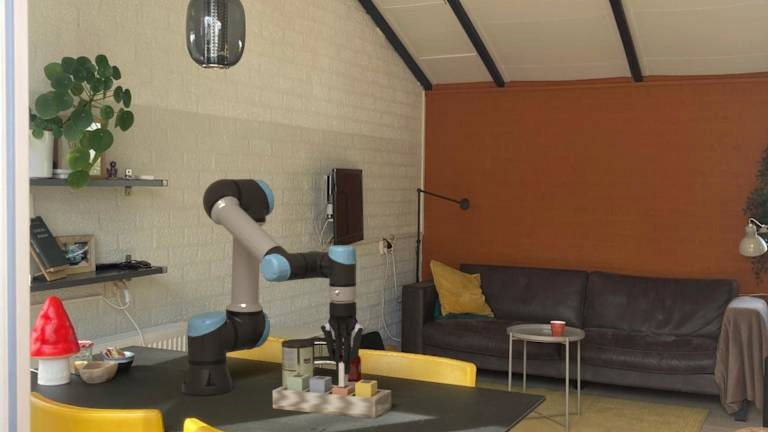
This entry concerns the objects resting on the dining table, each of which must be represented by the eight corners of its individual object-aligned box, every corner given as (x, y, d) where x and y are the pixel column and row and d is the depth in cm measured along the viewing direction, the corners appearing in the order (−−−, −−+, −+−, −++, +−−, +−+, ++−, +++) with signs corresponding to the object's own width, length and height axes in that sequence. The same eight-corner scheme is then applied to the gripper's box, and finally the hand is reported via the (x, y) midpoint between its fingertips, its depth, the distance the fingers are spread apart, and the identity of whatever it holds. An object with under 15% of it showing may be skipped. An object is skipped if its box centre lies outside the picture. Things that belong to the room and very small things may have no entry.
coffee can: (292, 381, 270) (292, 337, 270) (321, 384, 266) (320, 340, 265) (275, 388, 261) (275, 343, 260) (304, 391, 256) (304, 345, 256)
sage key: (287, 394, 239) (287, 376, 239) (295, 391, 244) (295, 373, 244) (302, 396, 238) (301, 377, 238) (309, 392, 242) (309, 374, 242)
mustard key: (355, 401, 232) (355, 382, 231) (362, 397, 236) (361, 379, 236) (370, 402, 230) (370, 383, 230) (377, 398, 234) (377, 380, 234)
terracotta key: (332, 406, 234) (332, 387, 234) (339, 402, 239) (339, 384, 238) (347, 407, 233) (347, 388, 232) (354, 403, 237) (354, 385, 237)
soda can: (358, 395, 252) (358, 355, 251) (336, 394, 253) (336, 354, 253) (363, 390, 258) (363, 351, 258) (341, 389, 260) (341, 350, 259)
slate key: (309, 396, 237) (309, 378, 237) (317, 393, 241) (316, 375, 241) (324, 398, 235) (324, 379, 235) (331, 394, 239) (331, 376, 239)
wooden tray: (272, 408, 237) (272, 390, 237) (292, 398, 248) (292, 381, 248) (374, 418, 226) (374, 400, 225) (391, 408, 237) (391, 390, 237)
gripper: (315, 301, 234) (316, 386, 234) (358, 303, 229) (359, 390, 229) (327, 298, 241) (328, 381, 241) (369, 300, 236) (370, 384, 236)
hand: (343, 385), depth 235 cm, fingers closed
